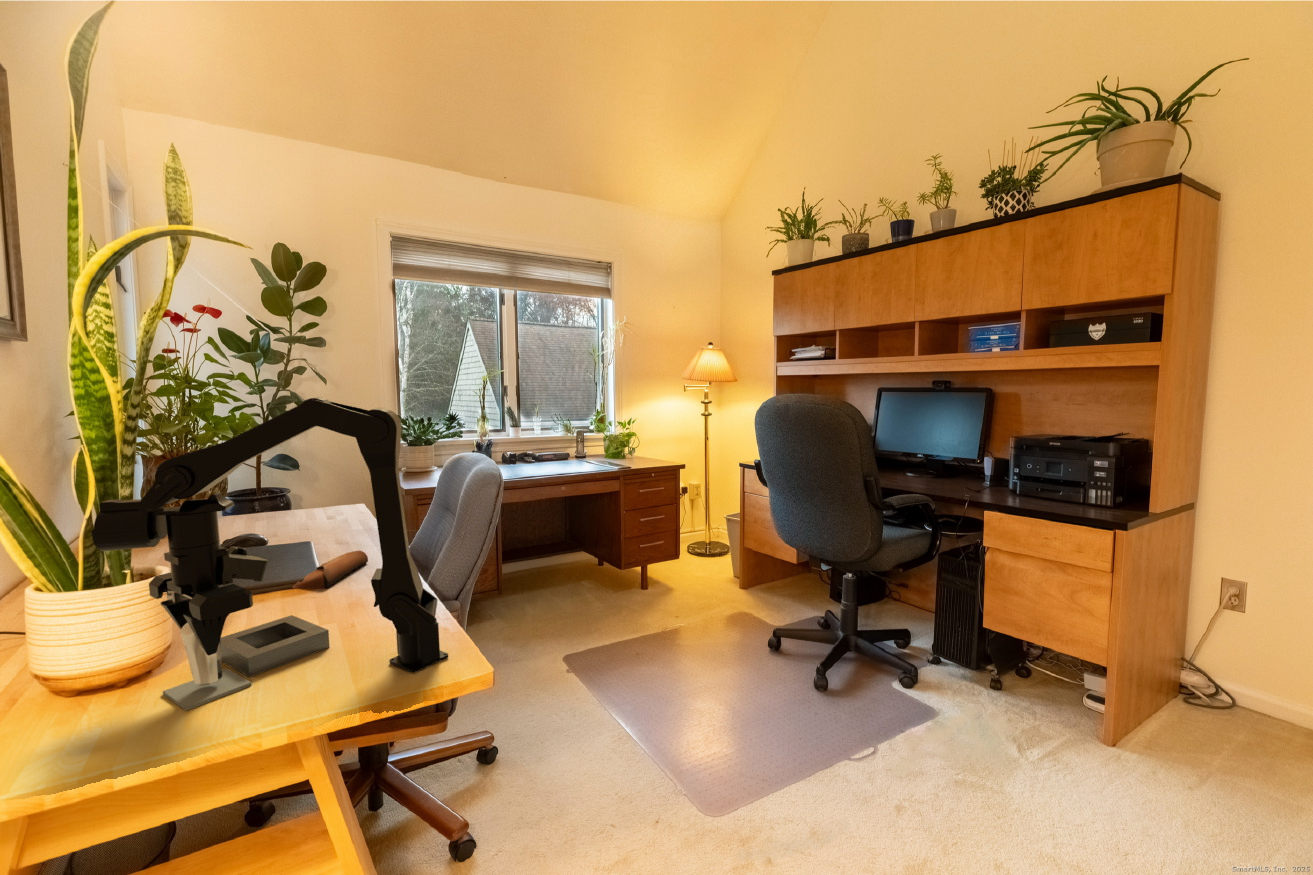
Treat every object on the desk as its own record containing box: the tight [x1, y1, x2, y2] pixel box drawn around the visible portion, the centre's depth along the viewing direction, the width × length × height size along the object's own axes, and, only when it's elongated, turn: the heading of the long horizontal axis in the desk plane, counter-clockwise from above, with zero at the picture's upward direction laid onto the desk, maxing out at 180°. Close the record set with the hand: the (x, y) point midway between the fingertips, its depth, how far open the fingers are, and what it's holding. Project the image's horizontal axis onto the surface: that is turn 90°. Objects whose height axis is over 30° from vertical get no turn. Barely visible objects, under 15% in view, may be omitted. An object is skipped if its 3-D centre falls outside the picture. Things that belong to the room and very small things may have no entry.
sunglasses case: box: [291, 550, 369, 590], centre depth 139 cm, size 18×7×7 cm, turn 0°
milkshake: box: [179, 623, 223, 686], centre depth 87 cm, size 4×5×10 cm
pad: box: [162, 668, 252, 711], centre depth 88 cm, size 8×8×1 cm
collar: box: [220, 614, 330, 678], centre depth 99 cm, size 12×12×3 cm
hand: (205, 650), depth 87 cm, fingers closed on milkshake, 4 cm apart
